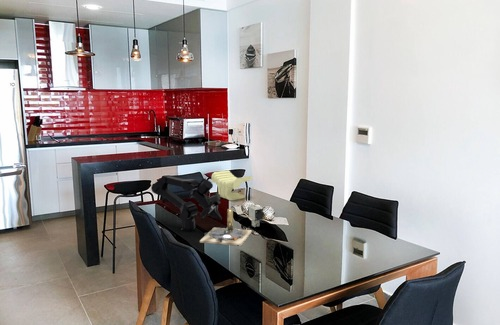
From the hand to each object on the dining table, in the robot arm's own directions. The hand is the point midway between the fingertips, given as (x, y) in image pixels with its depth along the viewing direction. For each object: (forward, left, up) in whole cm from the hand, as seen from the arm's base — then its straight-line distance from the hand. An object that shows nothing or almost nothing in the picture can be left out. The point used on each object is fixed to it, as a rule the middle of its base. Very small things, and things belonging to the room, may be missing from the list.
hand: (221, 219), depth 218 cm
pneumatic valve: (+16, +16, -8) cm, 24 cm away
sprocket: (+5, -6, -6) cm, 10 cm away
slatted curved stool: (-17, +79, -8) cm, 81 cm away
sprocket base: (+5, -6, -8) cm, 11 cm away
